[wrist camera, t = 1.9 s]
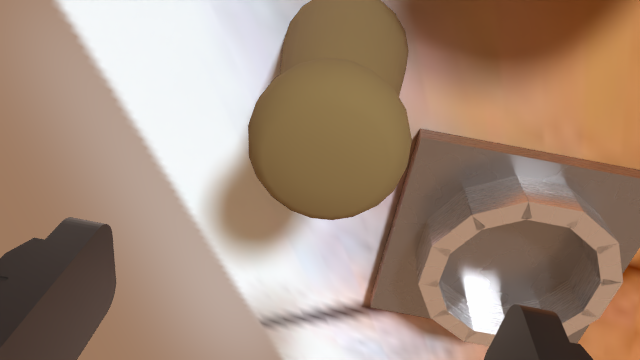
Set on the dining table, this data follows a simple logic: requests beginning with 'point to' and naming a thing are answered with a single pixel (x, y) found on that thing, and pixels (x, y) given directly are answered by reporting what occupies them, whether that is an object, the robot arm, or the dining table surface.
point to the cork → (334, 111)
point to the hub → (506, 236)
